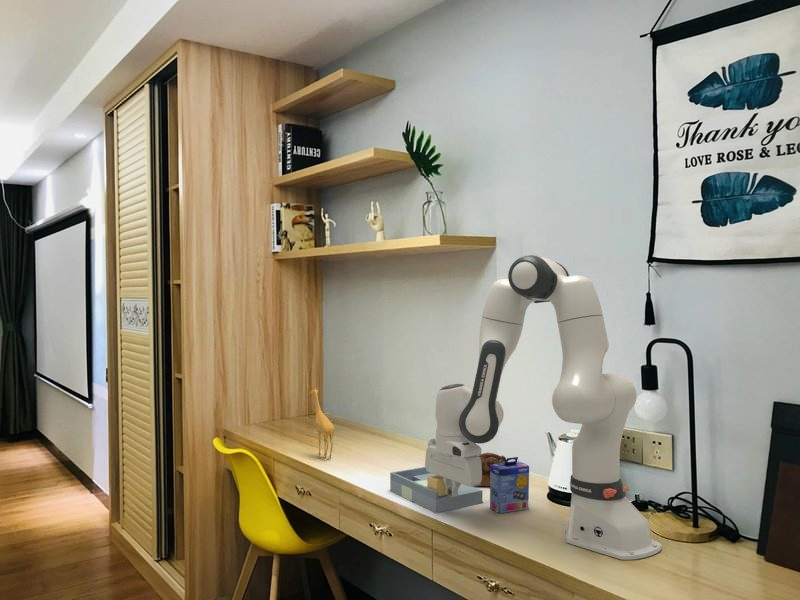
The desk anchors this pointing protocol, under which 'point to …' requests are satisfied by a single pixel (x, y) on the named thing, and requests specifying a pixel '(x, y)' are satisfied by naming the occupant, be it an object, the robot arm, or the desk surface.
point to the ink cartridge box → (509, 486)
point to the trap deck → (431, 491)
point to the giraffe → (323, 425)
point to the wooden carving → (486, 461)
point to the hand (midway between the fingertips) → (452, 495)
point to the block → (437, 484)
